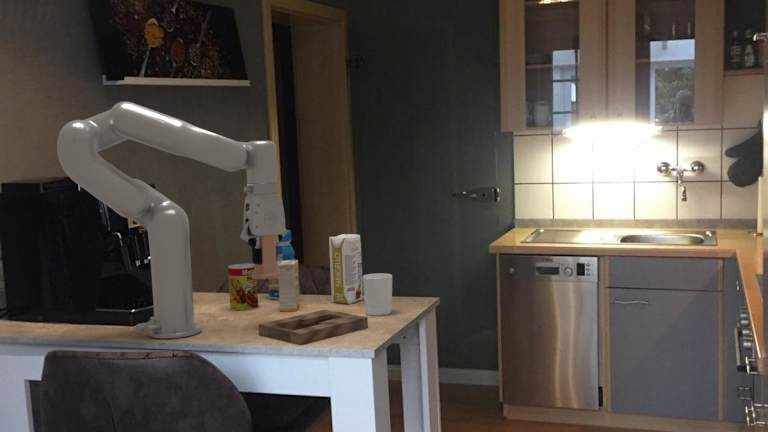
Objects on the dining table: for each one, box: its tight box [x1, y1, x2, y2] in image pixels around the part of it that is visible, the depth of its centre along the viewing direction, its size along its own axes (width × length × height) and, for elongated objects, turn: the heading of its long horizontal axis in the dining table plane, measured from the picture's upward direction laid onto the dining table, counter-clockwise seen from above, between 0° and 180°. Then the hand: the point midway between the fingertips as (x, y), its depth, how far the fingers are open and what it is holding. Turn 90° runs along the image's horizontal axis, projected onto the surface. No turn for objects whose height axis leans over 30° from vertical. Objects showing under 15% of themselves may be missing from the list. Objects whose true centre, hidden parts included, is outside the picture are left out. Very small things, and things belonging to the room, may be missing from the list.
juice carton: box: [328, 233, 364, 305], centre depth 234 cm, size 8×9×19 cm
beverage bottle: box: [268, 229, 296, 301], centre depth 244 cm, size 8×8×20 cm
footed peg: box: [252, 235, 280, 280], centre depth 206 cm, size 7×7×12 cm
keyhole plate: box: [257, 309, 369, 346], centre depth 199 cm, size 21×16×3 cm
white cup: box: [362, 272, 393, 316], centre depth 217 cm, size 8×8×10 cm
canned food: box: [227, 263, 259, 312], centre depth 231 cm, size 8×8×12 cm
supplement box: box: [278, 259, 301, 312], centre depth 227 cm, size 8×5×13 cm, turn 179°
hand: (265, 261), depth 207 cm, fingers closed on footed peg, 4 cm apart
